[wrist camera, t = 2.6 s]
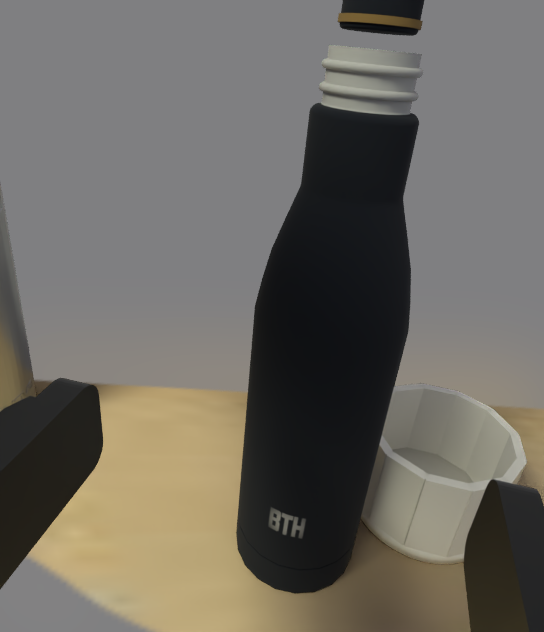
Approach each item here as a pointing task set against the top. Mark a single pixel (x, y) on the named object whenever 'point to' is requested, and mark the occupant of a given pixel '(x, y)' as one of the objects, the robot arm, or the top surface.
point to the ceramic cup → (436, 470)
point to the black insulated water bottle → (332, 314)
